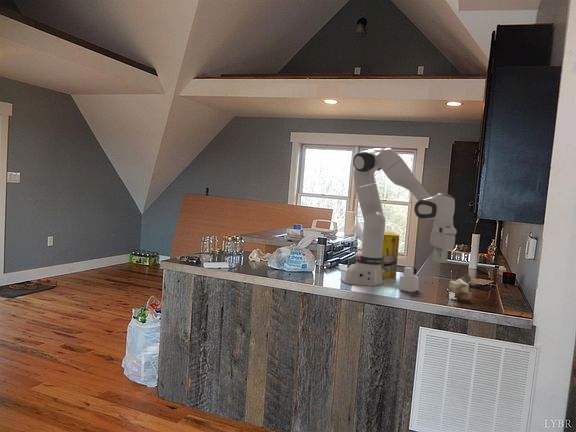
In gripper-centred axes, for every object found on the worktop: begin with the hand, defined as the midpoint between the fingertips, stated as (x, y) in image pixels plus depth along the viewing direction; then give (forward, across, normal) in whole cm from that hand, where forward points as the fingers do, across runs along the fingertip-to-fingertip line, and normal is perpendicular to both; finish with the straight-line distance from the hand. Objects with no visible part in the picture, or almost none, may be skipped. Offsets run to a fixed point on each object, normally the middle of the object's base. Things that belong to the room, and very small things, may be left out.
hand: (439, 257), depth 222 cm
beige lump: (+21, -7, +14) cm, 26 cm away
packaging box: (+21, -54, -13) cm, 59 cm away
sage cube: (+2, 0, 0) cm, 2 cm away
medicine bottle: (+21, -19, -7) cm, 29 cm away
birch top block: (+17, -7, +14) cm, 23 cm away
